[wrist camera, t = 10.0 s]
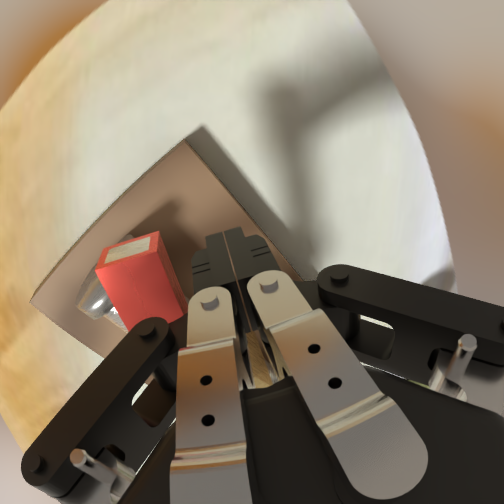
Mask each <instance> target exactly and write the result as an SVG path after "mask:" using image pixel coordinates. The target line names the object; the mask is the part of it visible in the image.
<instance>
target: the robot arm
mask: <svg viewBox="0 0 504 504" xmlns="http://www.w3.org/2000/svg"><path fill="white" fill-rule="evenodd" d="M223 232H224V235H225V239H226V242H227V246H228V249H229V253H230V256H231V260H232V263H233V267H234V270H235V274H236V277H237V280H238V284H239V287H240V291H241V294H242V297H243V301H244V304H245V308H246V311H247V314H248V318H249V321H250V324H251V328H252V331H256V330H258V331H259V334H260V337H261V340H262V344H263V347H264V350H265V352H266V354H267V356H268V359H269V361H270V363H271V365H272V368H273V370H274V372H275V374H276V376H277V379H278V382H276V383H275V384H273V385H271V386H269V387H265V388H255V383H254V377H253V371H252V365H251V359H250V353H249V349H248V340H247V336H246V333H249V332H251V329H250V326H249V323H248V319H247V316H246V312H245V309H244V306H243V302H242V299H241V295H240V292H239V288H238V285H237V281H236V278H235V274H234V271H233V267H232V264H231V260H230V257H229V253H228V250H227V246H226V243H225V239H224V236H223ZM223 232H218V233H215V234H211V235H208V236H205V239H206V246H207V248H206V249H202V250H199V251H196V252H195V254H194V255H193V257H192V259H191V264H192V274H193V275H192V278H193V290H194V296H193V297H192V298H191V299H190V301H189V305H188V312H187V313H186V314H185V315H183V316H182V317H180V318H178V319H176V320H175V321H173V322H171V323H169V324H168V322H167V321H166V320H165V319H163V318H161V317H150V318H146V319H144V320H142V321H140V322H139V323H137V324H136V325H135V326H134V327H133V328H132V329H131V330H130V331H129V332H128V333H127V335H126V336H125V337H124V338H123V339H122V340H121V341H120V342H119V343H118V345H117V346H116V347H115V348H114V349H113V350H112V351H111V352H110V353H109V355H108V356H107V357H106V358H105V359H104V360H103V361H102V362H101V364H100V365H99V366H98V367H97V368H96V369H95V370H94V371H93V373H92V374H91V375H90V376H89V377H88V378H87V379H86V381H85V382H84V383H83V384H82V385H81V386H80V388H79V389H78V390H77V391H76V392H75V393H74V394H73V396H72V397H71V398H70V399H69V400H68V401H67V403H66V404H65V405H64V406H63V407H62V409H61V410H60V411H59V412H58V413H57V414H56V416H55V417H54V418H53V419H52V420H51V422H50V423H49V424H48V425H47V426H46V428H45V429H44V430H43V431H42V432H41V434H40V435H39V436H38V437H37V439H36V440H35V441H34V442H33V443H32V445H31V446H30V447H29V448H28V450H27V451H26V452H25V454H24V456H23V458H22V462H21V471H22V475H23V477H24V479H25V481H26V482H28V483H29V484H30V485H32V486H34V487H35V488H37V489H39V490H41V491H43V492H45V493H46V494H47V495H49V496H50V497H52V498H54V499H56V500H58V501H59V502H60V503H61V504H504V417H502V412H503V407H504V307H501V306H498V305H494V304H491V303H487V302H483V301H480V300H476V299H473V298H469V297H465V296H462V295H458V294H454V293H451V292H447V291H443V290H440V289H436V288H432V287H429V286H425V285H421V284H417V283H414V282H410V281H406V280H403V279H399V278H395V277H391V276H387V275H384V274H380V273H376V272H372V271H369V270H365V269H361V268H357V267H353V266H350V265H344V264H338V265H332V266H329V267H327V268H325V269H323V270H322V271H321V272H320V273H319V274H318V277H317V280H316V281H295V280H291V278H290V277H289V276H288V275H287V274H286V273H284V272H282V271H281V269H280V267H279V265H278V263H277V261H276V259H275V258H274V256H273V254H272V252H271V250H270V248H269V247H268V244H267V242H266V240H265V239H264V238H263V237H261V236H259V235H257V234H255V235H251V236H248V237H245V236H244V233H243V231H242V228H241V226H239V227H236V228H232V229H229V230H225V231H223ZM361 315H363V316H366V317H370V318H373V319H376V320H379V321H382V322H385V323H387V324H389V325H390V326H392V328H393V329H394V330H393V329H390V328H387V327H384V326H381V325H378V324H375V323H372V322H369V321H366V320H363V319H360V317H361ZM360 362H363V363H365V364H368V365H371V366H373V367H376V368H373V367H369V366H363V365H362V364H361V363H360ZM377 368H379V369H377ZM380 369H381V370H380ZM382 370H384V371H382ZM385 371H387V372H390V373H392V374H395V375H398V376H401V377H404V378H407V379H409V380H412V381H415V382H418V383H421V384H424V385H427V386H429V388H430V389H428V388H426V387H423V386H421V385H418V384H415V383H413V382H410V381H408V380H405V379H402V378H400V377H397V376H395V375H392V374H390V373H387V372H385ZM150 375H152V376H153V380H152V381H151V382H150V384H149V385H148V386H147V387H146V389H145V390H144V391H143V392H142V394H141V395H140V396H139V398H138V399H137V400H136V401H135V403H134V404H133V405H132V399H133V397H134V395H135V394H136V393H137V392H138V390H139V389H140V388H141V386H142V385H143V384H144V383H145V381H146V380H147V379H148V378H149V376H150ZM175 418H176V421H175V422H174V423H173V424H172V425H171V423H172V422H173V420H174V419H175ZM170 425H171V426H170ZM169 426H170V427H169ZM156 444H157V445H156ZM155 446H156V447H155ZM154 447H155V448H154ZM153 449H154V450H153ZM152 450H153V451H152ZM151 451H152V453H151ZM150 453H151V454H150ZM149 454H150V456H149V457H148V455H149ZM147 457H148V458H147ZM146 458H147V460H146ZM145 460H146V461H145ZM144 461H145V463H144V464H143V462H144ZM142 464H143V466H142V467H141V469H140V470H139V472H138V473H137V475H136V474H135V473H136V472H137V471H138V469H139V468H140V466H141V465H142Z"/></svg>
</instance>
